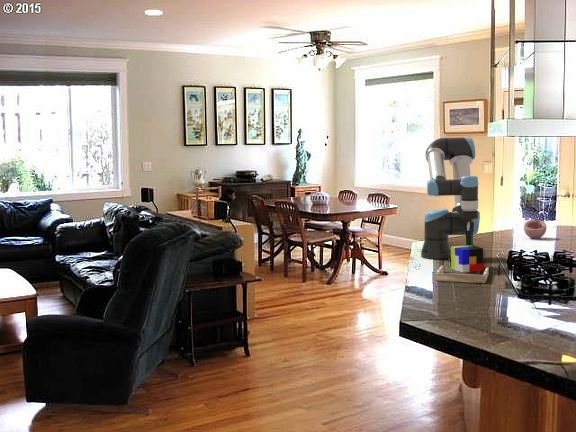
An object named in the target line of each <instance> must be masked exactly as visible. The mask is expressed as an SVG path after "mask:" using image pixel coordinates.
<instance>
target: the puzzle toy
mask: <svg viewBox="0 0 576 432" xmlns="http://www.w3.org/2000/svg"><path fill="white" fill-rule="evenodd" d="M473 245H474V244H473ZM473 245H466V244H465V245H456V246H454V245H453V246H450V248H451V257H450V260H451V261H450V268H451V269H452V270H454V271H457V272H461V273H462V272H463V273H472V272H474V273H475V272H484V248H483V247H480V246H476V245H474V246H473Z"/></svg>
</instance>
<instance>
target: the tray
mask: <svg viewBox="0 0 576 432" xmlns="http://www.w3.org/2000/svg"><path fill="white" fill-rule="evenodd" d="M444 267H445V266H444V265H440V266H439V267H438V269H437V270H436V271H435V272H434V281H437V282H456V283H479V284H486V282H487V279H488V277H489V274H490V273H489V271H490V270H489V269H490V268H489V267H485V270H483V273H482V274H463V273H446V272H445V273H444V271H445V270H444V269H445V268H444Z"/></svg>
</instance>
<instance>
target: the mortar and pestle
mask: <svg viewBox="0 0 576 432" xmlns="http://www.w3.org/2000/svg"><path fill="white" fill-rule="evenodd" d="M523 231H524V233H525V235H526V236H527V237H529V238H530V239H535V240H537V239H540V238H542V237H543V236H544V235H546V231H547V224H546V222H544V221H543V220H539V219H537V218H534V219H530V220H528V221H526V222H525V223H524V226H523Z"/></svg>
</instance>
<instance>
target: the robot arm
mask: <svg viewBox="0 0 576 432" xmlns="http://www.w3.org/2000/svg"><path fill="white" fill-rule="evenodd" d="M475 158H476V147H475V143H474V140H473V138H471V137H470V136H469V137H467V136H462V137H441V138H437V139H434V141H432V142H431V143H430V144H428V147H427V148H426V150H425V160H426V162H427V164H428V171H429V179H428V180H427V182H426V193H427V195H428V196H431V197H432V196H433V197H434V196H435V197H438V196H439V197H442V196H444V197H445V196H446V197H448V196H454V206H453V208H452V210H451V211H449V209H447V208H439V209H433V210H429V211H426V212H425V213H424V220H423V223H424V236H423V237H424V241H423V245H422V248H421V250H420V251H421V252H420V257H422V258H425V259H429V260H430V259H433V260H434V259H435V260H439V259H441V260H442V259H451V245H450V242H449V236H465V245H473V246H475V244H474V236H475V235H477V234H478V232H479V227H480V219H481V214H480V211H479V210H478V209H479V179H478V178H479V177H478V176H476V175H471V164H472V163H473V160H475ZM445 161H448V162H449V165H451V166H452V177H453V179H447V174H446V168H445Z"/></svg>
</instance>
